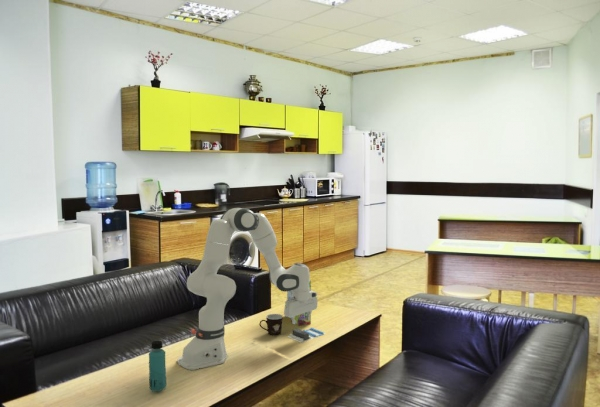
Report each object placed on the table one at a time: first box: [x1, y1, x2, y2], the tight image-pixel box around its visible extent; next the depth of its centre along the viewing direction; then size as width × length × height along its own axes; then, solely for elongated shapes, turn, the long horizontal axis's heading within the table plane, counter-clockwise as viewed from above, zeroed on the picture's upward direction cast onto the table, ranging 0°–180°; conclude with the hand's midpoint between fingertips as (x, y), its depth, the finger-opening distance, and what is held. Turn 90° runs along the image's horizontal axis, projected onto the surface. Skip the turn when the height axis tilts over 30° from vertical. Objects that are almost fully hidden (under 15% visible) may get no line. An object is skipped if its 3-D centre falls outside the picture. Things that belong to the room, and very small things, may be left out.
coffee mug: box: [259, 313, 284, 337], centre depth 244 cm, size 12×9×10 cm
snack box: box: [286, 280, 312, 326], centre depth 266 cm, size 22×9×26 cm, turn 17°
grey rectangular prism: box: [291, 328, 309, 342], centre depth 239 cm, size 3×9×3 cm, turn 43°
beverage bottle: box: [148, 340, 167, 392], centre depth 183 cm, size 6×7×20 cm
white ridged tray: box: [287, 327, 327, 343], centre depth 242 cm, size 18×10×2 cm, turn 132°
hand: (301, 321), depth 239 cm, fingers open, 8 cm apart
